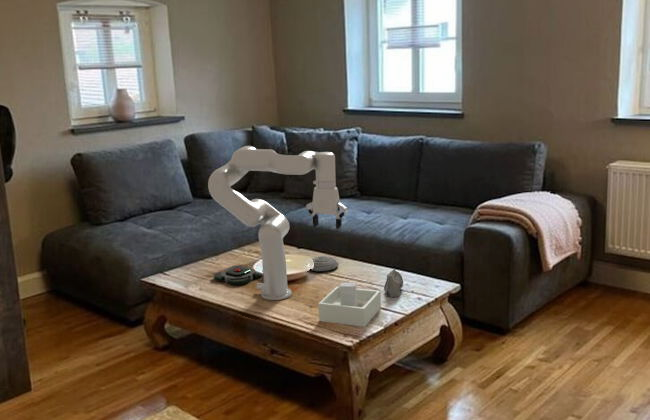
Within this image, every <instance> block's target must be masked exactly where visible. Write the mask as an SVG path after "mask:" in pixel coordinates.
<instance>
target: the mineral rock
mask: <svg viewBox="0 0 650 420" xmlns="http://www.w3.org/2000/svg"><path fill="white" fill-rule="evenodd" d="M403 286H404V279H403V276H402V274H401V273H400V272H399V271H397V270H396V269H394V268H393V269H392V271H390V272H389V273H388V274H387V275H386V280H385V284H384V288H383V290H384V293H385V296H386V297H391V298H395V297H399V296H400V295H401V289H402V288H403Z"/></svg>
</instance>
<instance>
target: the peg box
mask: <svg viewBox="0 0 650 420" xmlns="http://www.w3.org/2000/svg"><path fill="white" fill-rule="evenodd" d="M356 292H357V307H354V306H346V305H341V303H340V286H337V285H336V286H335V288H333V289H332V290H331V291H330V292H329V293H328V294H327V295H325V296H324V297H323V298H322V300H320V301H319V302H318V319H319V320H318V321H319V322H324V323H332V324H340V325H347V326H355V327H364V328H366V326H367V325H368V324H369V323H370V322H371V320H373V318H374V317H375V316H376V315H377V313H379V311H380V310H381V308H382V302H381V301H382V298H381V295H382V294H381V290H374V289H366V288H357V287H356Z"/></svg>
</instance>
